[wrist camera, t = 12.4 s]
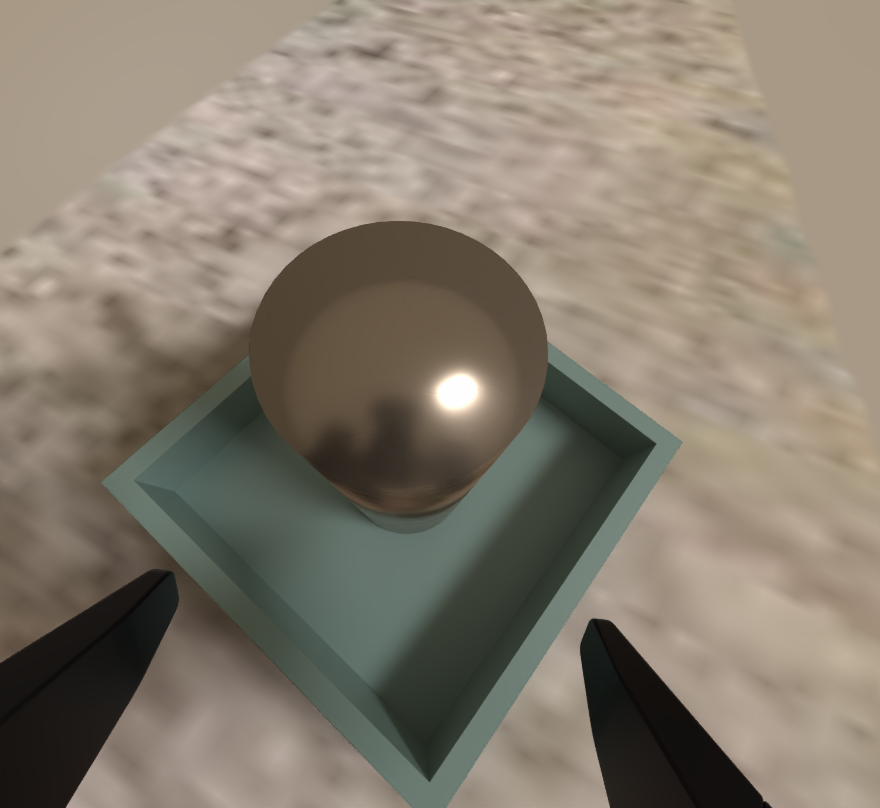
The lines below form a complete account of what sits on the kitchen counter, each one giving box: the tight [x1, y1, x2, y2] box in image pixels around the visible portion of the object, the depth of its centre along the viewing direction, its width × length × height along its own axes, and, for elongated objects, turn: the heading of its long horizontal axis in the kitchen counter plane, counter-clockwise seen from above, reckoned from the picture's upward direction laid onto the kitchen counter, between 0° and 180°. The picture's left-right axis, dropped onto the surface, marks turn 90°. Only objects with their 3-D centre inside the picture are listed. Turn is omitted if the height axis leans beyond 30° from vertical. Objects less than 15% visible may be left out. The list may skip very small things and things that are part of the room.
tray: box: [101, 341, 682, 808], centre depth 18 cm, size 16×16×4 cm
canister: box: [249, 221, 548, 534], centre depth 13 cm, size 5×5×13 cm
